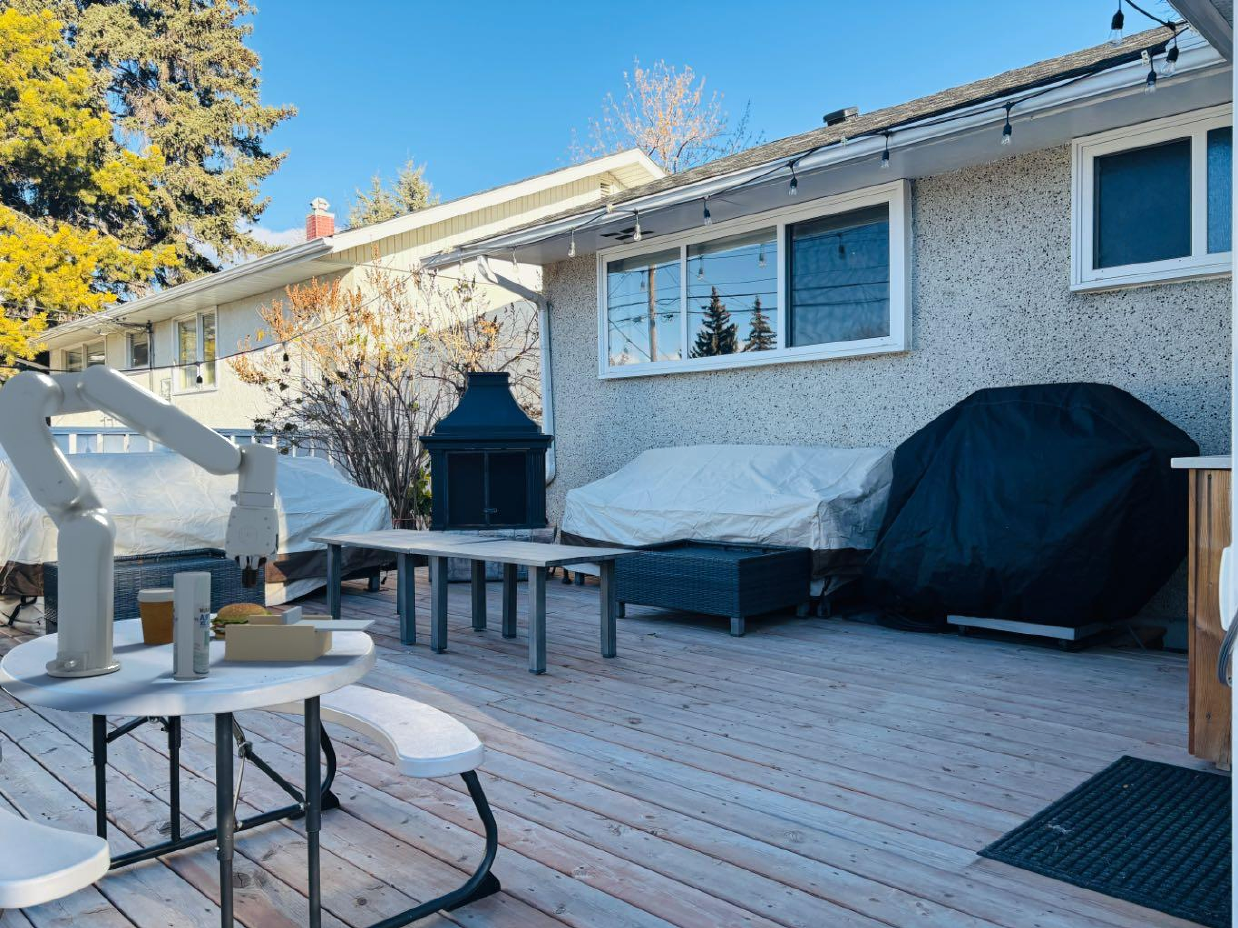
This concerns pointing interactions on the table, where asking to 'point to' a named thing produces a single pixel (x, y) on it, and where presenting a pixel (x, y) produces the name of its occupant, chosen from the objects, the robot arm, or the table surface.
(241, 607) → the food
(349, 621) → the lid
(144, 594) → the disposable coffee cup
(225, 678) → the table surface
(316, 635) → the mailer box
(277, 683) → the table surface
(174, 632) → the spray can
